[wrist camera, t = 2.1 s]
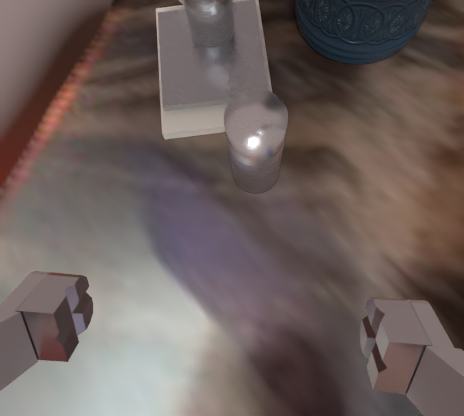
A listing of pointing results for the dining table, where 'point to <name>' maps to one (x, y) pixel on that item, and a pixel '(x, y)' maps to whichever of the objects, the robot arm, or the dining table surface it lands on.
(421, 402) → the robot arm
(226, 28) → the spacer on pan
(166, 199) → the dining table surface
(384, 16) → the canister
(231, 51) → the grey square plate
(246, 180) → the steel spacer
